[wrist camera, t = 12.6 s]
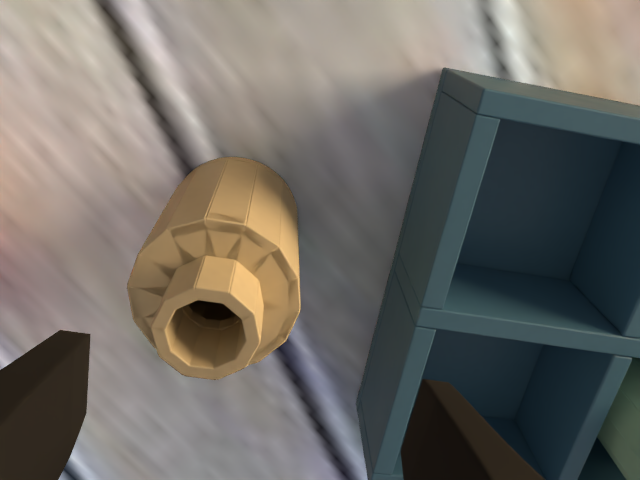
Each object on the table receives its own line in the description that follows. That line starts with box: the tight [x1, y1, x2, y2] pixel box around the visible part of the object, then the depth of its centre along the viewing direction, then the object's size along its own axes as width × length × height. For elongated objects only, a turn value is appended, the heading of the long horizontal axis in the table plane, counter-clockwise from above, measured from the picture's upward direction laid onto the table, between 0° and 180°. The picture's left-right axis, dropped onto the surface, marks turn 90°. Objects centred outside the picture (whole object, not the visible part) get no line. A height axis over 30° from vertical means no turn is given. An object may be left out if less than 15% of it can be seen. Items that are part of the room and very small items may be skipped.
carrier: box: [356, 68, 640, 480], centre depth 21 cm, size 14×14×5 cm
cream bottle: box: [127, 157, 300, 380], centre depth 18 cm, size 4×5×8 cm
